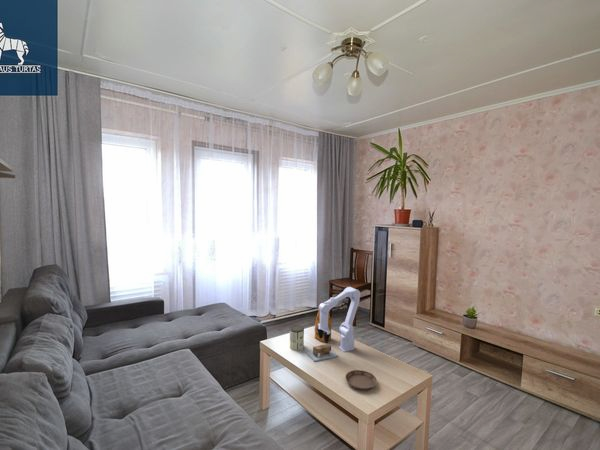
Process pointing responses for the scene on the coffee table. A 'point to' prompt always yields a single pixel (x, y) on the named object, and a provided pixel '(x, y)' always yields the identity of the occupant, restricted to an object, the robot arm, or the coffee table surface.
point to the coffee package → (317, 326)
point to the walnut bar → (321, 350)
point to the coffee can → (296, 337)
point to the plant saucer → (361, 380)
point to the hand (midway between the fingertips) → (323, 340)
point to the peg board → (323, 357)
